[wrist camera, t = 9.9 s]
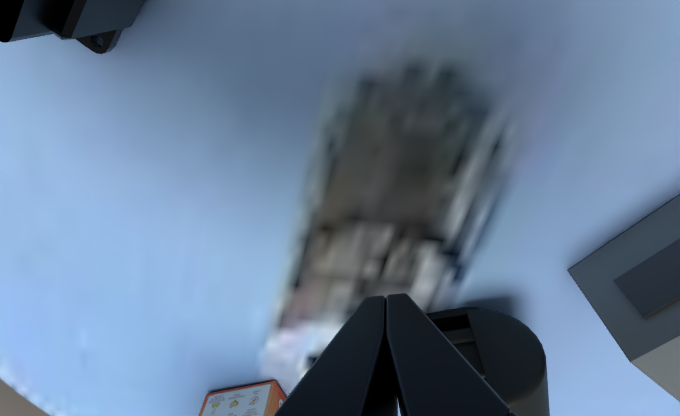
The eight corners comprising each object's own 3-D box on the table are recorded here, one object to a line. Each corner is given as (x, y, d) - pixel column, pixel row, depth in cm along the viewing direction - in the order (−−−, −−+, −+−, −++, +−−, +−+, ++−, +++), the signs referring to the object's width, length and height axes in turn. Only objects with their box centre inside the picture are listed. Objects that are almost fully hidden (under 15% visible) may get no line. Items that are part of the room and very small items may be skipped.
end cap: (528, 398, 28) (572, 511, 22) (426, 410, 29) (440, 520, 23) (517, 290, 23) (569, 398, 17) (395, 311, 24) (405, 417, 18)
